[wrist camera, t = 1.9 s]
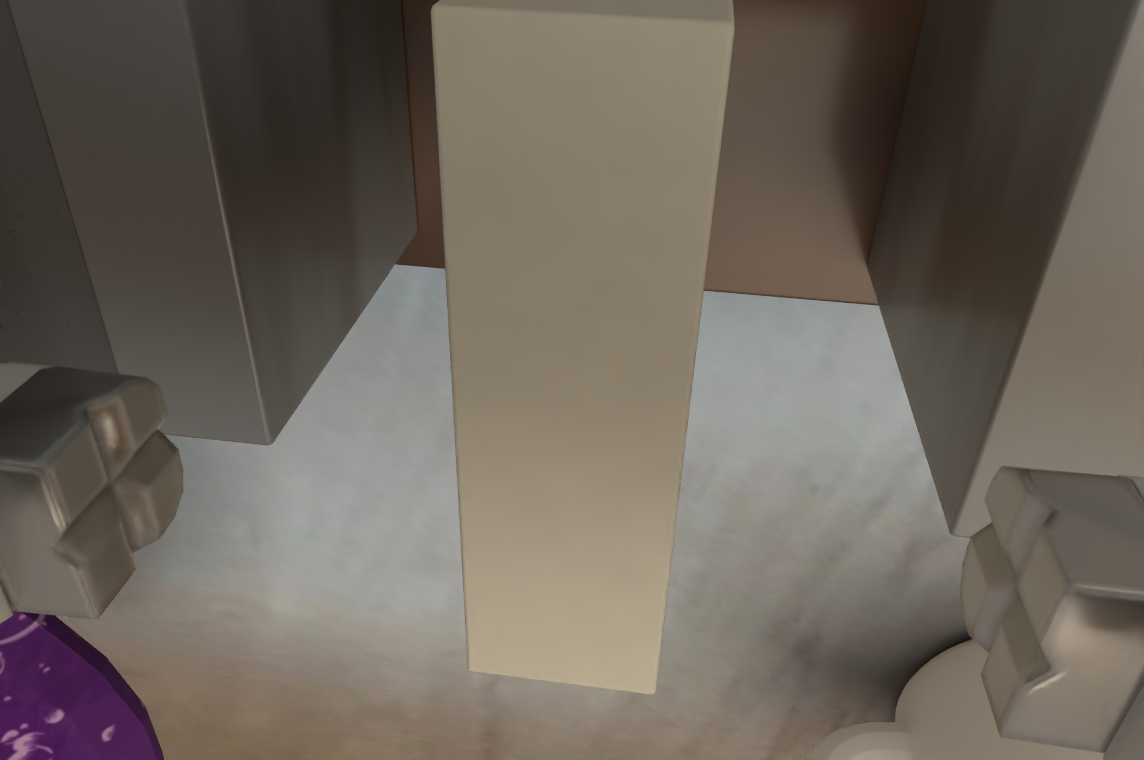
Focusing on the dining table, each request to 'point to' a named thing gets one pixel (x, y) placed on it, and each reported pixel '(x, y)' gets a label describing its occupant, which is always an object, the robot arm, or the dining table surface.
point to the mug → (940, 721)
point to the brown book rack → (739, 222)
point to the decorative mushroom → (66, 698)
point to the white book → (574, 314)
